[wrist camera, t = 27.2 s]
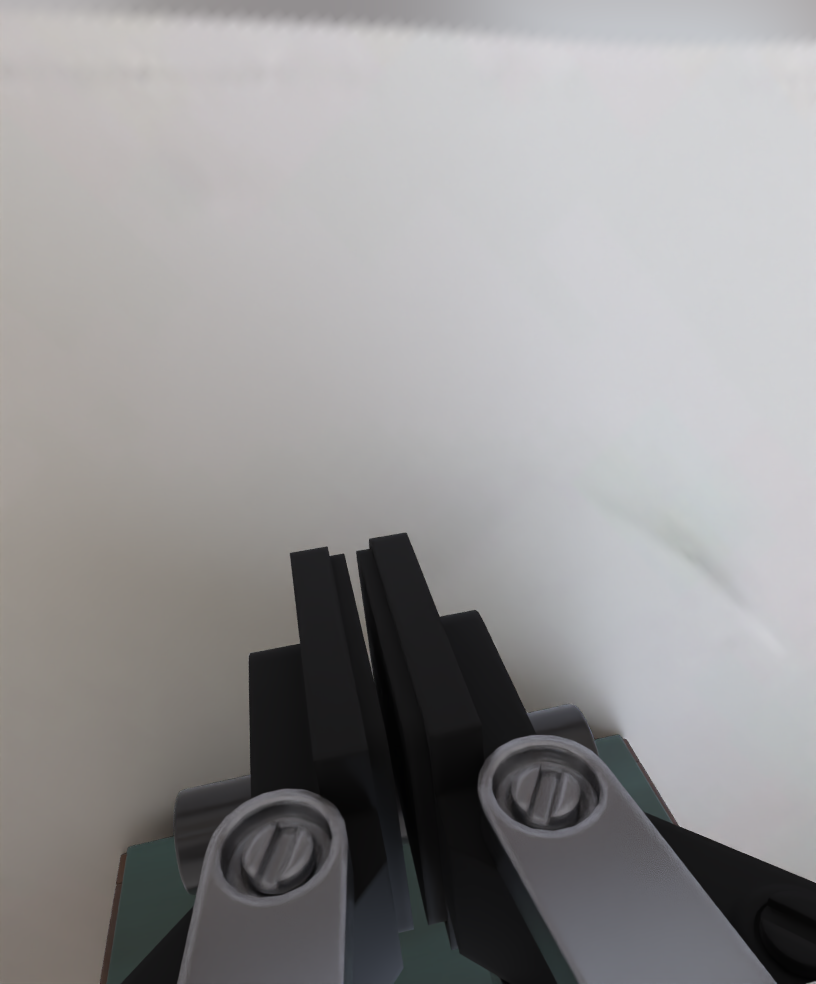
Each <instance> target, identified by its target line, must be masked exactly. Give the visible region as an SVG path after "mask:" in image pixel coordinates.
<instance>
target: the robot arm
mask: <svg viewBox="0 0 816 984" xmlns="http://www.w3.org/2000/svg"><path fill="white" fill-rule="evenodd" d="M369 548H370V549H366V550H361V551H356V555H357V563H358V570H359V577H360V584H361V591H362V599H363V606H364V613H365V620H366V627H367V634H368V641H369V648H370V655H371V662H372V669H373V675H372V671H371V667H370V662H369V658H368V654H367V649H366V645H365V641H364V637H363V632H362V628H361V624H360V620H359V615H358V611H357V607H356V603H355V598H354V594H353V590H352V585H351V581H350V577H349V573H348V568H347V564H346V560H345V556H344V554H339V555H333V556H329V551H328V547H321V548H316V549H310V550H304V551H299V552H293V553H290V558H291V567H292V576H293V584H294V593H295V602H296V611H297V620H298V628H299V637H300V644H296V645H291V646H286V647H280V648H275V649H270V650H265V651H260V652H254V653H250V655H249V715H250V775H251V799H250V800H248V801H246V802H244V803H242V804H241V805H240V806H239V807H237V808H236V809H235V810H234V811H232V812H231V813H230V814H229V815H227V816H226V817H225V818H224V820H223V821H222V822H221V824H220V825H219V826H218V828H217V829H216V830H215V831H214V833H213V835H212V837H211V840H210V842H209V845H208V847H207V850H206V852H205V857H204V861H203V866H202V871H201V875H200V880H199V885H198V889H197V894H196V898H195V903H194V906H193V907H192V908H191V909H190V910H189V911H188V912H187V913H186V914H185V915H184V916H183V917H182V919H181V920H180V921H179V922H178V923H177V924H176V925H175V926H174V927H173V928H172V929H171V930H170V931H169V932H168V934H167V935H166V936H165V937H164V938H163V939H162V940H161V941H160V942H159V943H158V944H157V945H156V946H155V947H154V949H153V950H152V951H151V952H150V953H149V954H148V955H147V956H146V957H145V958H144V959H143V960H142V961H141V962H140V963H139V965H138V966H137V967H136V968H135V969H134V970H133V971H132V972H131V973H130V974H129V975H128V976H127V977H126V978H125V980H124V981H123V982H122V983H121V984H394V982H395V981H396V979H397V978H398V976H399V974H400V973H401V971H402V970H403V968H404V967H403V960H402V953H401V947H400V940H399V934H398V933H401V932H405V931H409V930H413V929H414V926H413V918H412V911H411V903H410V896H409V889H408V881H407V874H406V867H405V859H404V852H403V845H402V837H401V830H400V823H399V815H398V808H397V801H396V794H395V786H394V780H395V784H396V789H397V793H398V797H399V802H400V806H401V810H402V815H403V819H404V823H405V828H406V832H407V836H408V841H409V845H410V850H411V854H412V858H413V863H414V867H415V871H416V876H417V880H418V884H419V889H420V893H421V897H422V902H423V906H424V911H425V915H426V919H427V922H428V925H432V924H436V923H440V922H444V923H445V927H446V931H447V934H448V938H449V942H450V946H451V950H455V949H458V950H459V953H460V954H461V955H463V956H464V957H466V958H468V959H469V960H471V961H473V962H475V963H476V964H478V965H480V966H481V967H483V968H485V969H486V970H488V971H490V976H491V980H492V984H816V883H814V882H812V881H810V880H807V879H805V878H802V877H800V876H798V875H795V874H793V873H790V872H788V871H786V870H783V869H781V868H778V867H776V866H774V865H771V864H769V863H766V862H764V861H761V860H759V859H757V858H754V857H752V856H749V855H747V854H745V853H742V852H740V851H737V850H735V849H733V848H730V847H728V846H725V845H723V844H721V843H718V842H716V841H713V840H711V839H708V838H706V837H704V836H701V835H699V834H696V833H694V832H692V831H689V830H687V829H684V828H682V827H680V826H677V825H675V824H672V823H670V822H668V821H665V820H663V819H660V818H658V817H655V816H653V815H651V814H648V813H646V812H643V811H642V810H641V809H640V807H639V806H638V805H637V804H636V802H635V801H634V800H633V798H632V797H631V796H630V795H629V793H628V792H627V791H626V789H625V788H624V787H623V786H622V784H621V783H620V782H619V780H618V779H617V778H616V777H615V775H614V774H613V773H612V772H611V770H610V769H609V768H608V766H607V765H606V764H605V763H604V762H603V761H602V760H601V759H600V758H599V757H598V756H597V755H596V754H595V753H594V752H593V751H592V750H590V749H588V748H586V747H584V746H583V745H581V744H579V743H577V742H575V741H573V740H569V739H565V738H562V737H558V736H554V735H537V734H536V732H535V730H534V727H533V725H532V723H531V721H530V719H529V717H528V715H527V713H526V711H525V708H524V706H523V704H522V702H521V700H520V698H519V696H518V694H517V691H516V689H515V687H514V685H513V683H512V681H511V679H510V677H509V675H508V672H507V670H506V668H505V666H504V664H503V662H502V660H501V658H500V655H499V653H498V651H497V649H496V647H495V645H494V643H493V641H492V639H491V636H490V634H489V632H488V630H487V628H486V626H485V624H484V622H483V620H482V618H481V616H480V614H479V613H478V612H477V611H476V610H472V611H467V612H462V613H457V614H452V615H446V616H441V617H439V614H438V612H437V609H436V606H435V604H434V601H433V599H432V596H431V594H430V591H429V589H428V586H427V583H426V581H425V578H424V576H423V573H422V571H421V568H420V566H419V563H418V560H417V558H416V555H415V553H414V550H413V548H412V545H411V543H410V540H409V537H408V535H407V533H400V534H394V535H389V536H383V537H377V538H372V539H369ZM373 676H374V679H373ZM392 771H393V772H392ZM393 775H394V779H393Z"/></svg>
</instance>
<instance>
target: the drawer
mask: <svg viewBox="0 0 816 984" xmlns="http://www.w3.org/2000/svg"><path fill="white" fill-rule="evenodd" d="M527 715H528V717H529V719H530V721H531V723H532V725H533V727H534V730H535V732H536V734H537V735H554V736H558V737H562V738H565V739H569V740H573V741H575V742H577V743H579V744H581V745H583V746H584V747H586V748H588V749H590V750H592V751H593V752H594V753H595V754H596V755H597V756H598V757H599V758H600V759H601V760H602V761H603V762H604V763H605V764H606V765H607V766H608V768H609V769H610V770H611V772H612V773H613V774H614V775H615V777H616V778H617V779H618V780H619V782H620V783H621V784H622V786H623V787H624V788H625V789H626V791H627V792H628V793H629V795H630V796H631V797H632V798H633V800H634V801H635V802H636V804H637V805H638V806H639V807H640V809H641V810H642V811H643V812H646V813H648V814H651V815H653V816H655V817H658V818H660V819H663V820H665V821H668V822H670V823H672V824H673V822H672V821H671V819H670V817H669V816H668V814H667V812H666V811H665V809H664V807H663V806H662V804H661V802H660V801H659V799H658V797H657V796H656V794H655V792H654V791H653V789H652V787H651V786H650V784H649V782H648V781H647V779H646V777H645V776H644V774H643V772H642V771H641V769H640V767H639V766H638V764H637V762H636V761H635V759H634V757H633V756H632V754H631V752H630V751H629V749H628V747H627V746H626V744H625V742H624V741H623V739H622V737H621V736H620V735H613V736H609V737H604V738H600V739H596V740H594V737H593V735H592V732H591V730H590V727H589V725H588V723H587V721H586V719H585V717H584V715H583V714H582V712H581V711H580V709H579V708H578V707H577V706H576V705H574V704H566V705H562V706H557V707H553V708H548V709H544V710H539V711H535V712H530V713H527ZM392 772H393V771H392ZM393 779H394V775H393ZM394 786H395V794H396V801H397V808H398V815H399V823H400V830H401V837H402V845H403V852H404V859H405V867H406V874H407V881H408V889H409V896H410V903H411V911H412V918H413V926H414V929H413V930H409V931H405V932H401V933H398V934H399V940H400V947H401V953H402V960H403V967H404V968H403V970H402V971H401V973H400V974H399V976H398V978H397V979H396V981H395V982H394V984H492V980H491V976H490V971H488V970H486V969H485V968H483V967H481V966H480V965H478V964H476V963H475V962H473V961H471V960H469V959H468V958H466V957H464V956H463V955H461V954H460V953H459V950H458V949H455V950H451V946H450V942H449V938H448V934H447V931H446V927H445V923H444V922H440V923H436V924H432V925H428V922H427V919H426V915H425V911H424V906H423V902H422V897H421V893H420V889H419V884H418V880H417V876H416V871H415V867H414V863H413V858H412V854H411V850H410V845H409V841H408V836H407V832H406V828H405V823H404V819H403V815H402V810H401V806H400V802H399V797H398V793H397V789H396V784H395V780H394ZM250 799H251V775H247V776H243V777H238V778H234V779H229V780H225V781H220V782H216V783H211V784H207V785H202V786H198V787H193V788H189V789H184V790H182V791H181V792H179V793H178V795H177V798H176V802H175V808H174V836H173V837H168V838H164V839H160V840H155V841H151V842H147V843H142V844H138V845H133V846H130V847H128V850H127V856H126V862H125V869H124V875H123V881H122V888H121V894H120V901H119V907H118V913H117V920H116V926H115V932H114V939H113V945H112V952H111V958H110V964H109V971H108V977H107V983H106V984H121V983H122V982H123V981H124V980H125V978H126V977H127V976H128V975H129V974H130V973H131V972H132V971H133V970H134V969H135V968H136V967H137V966H138V965H139V963H140V962H141V961H142V960H143V959H144V958H145V957H146V956H147V955H148V954H149V953H150V952H151V951H152V950H153V949H154V947H155V946H156V945H157V944H158V943H159V942H160V941H161V940H162V939H163V938H164V937H165V936H166V935H167V934H168V932H169V931H170V930H171V929H172V928H173V927H174V926H175V925H176V924H177V923H178V922H179V921H180V920H181V919H182V917H183V916H184V915H185V914H186V913H187V912H188V911H189V910H190V909H191V908H192V907H193V906H194V903H195V898H196V894H197V889H198V885H199V880H200V875H201V871H202V866H203V861H204V857H205V852H206V850H207V847H208V845H209V842H210V840H211V837H212V835H213V833H214V831H215V830H216V829H217V828H218V826H219V825H220V824H221V822H222V821H223V820H224V818H225V817H226V816H227V815H229V814H230V813H231V812H232V811H234V810H235V809H236V808H237V807H239V806H240V805H241V804H242V803H244V802H246V801H248V800H250Z"/></svg>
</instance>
